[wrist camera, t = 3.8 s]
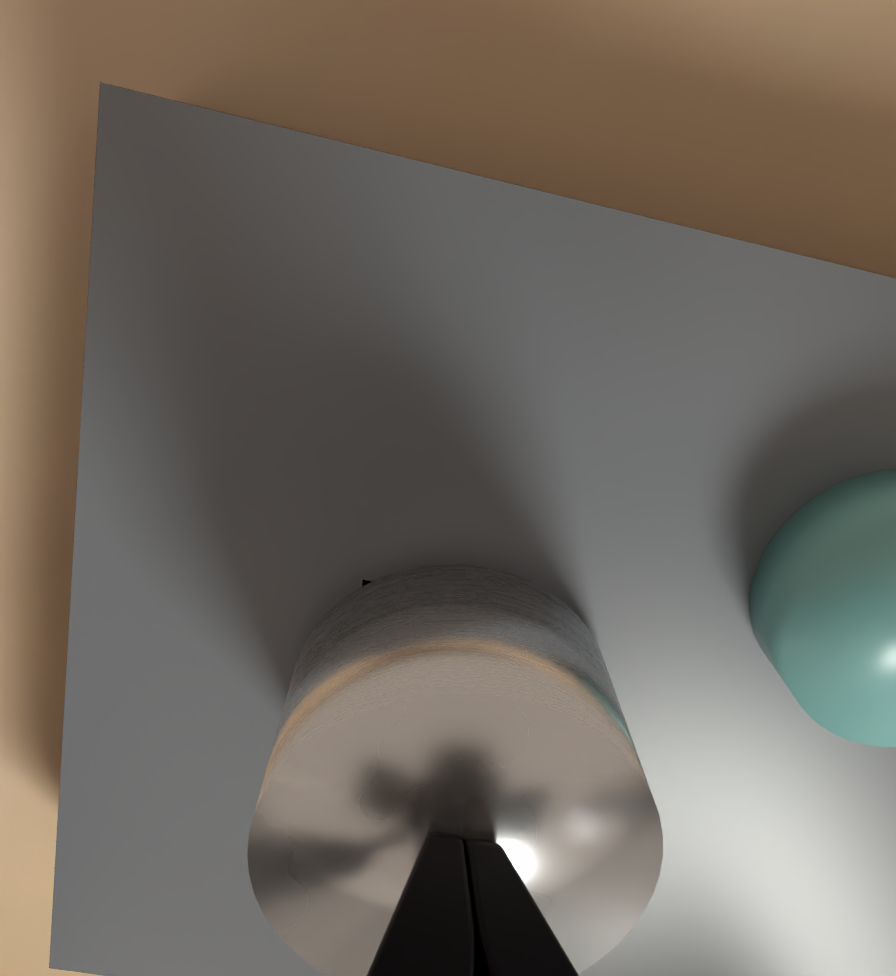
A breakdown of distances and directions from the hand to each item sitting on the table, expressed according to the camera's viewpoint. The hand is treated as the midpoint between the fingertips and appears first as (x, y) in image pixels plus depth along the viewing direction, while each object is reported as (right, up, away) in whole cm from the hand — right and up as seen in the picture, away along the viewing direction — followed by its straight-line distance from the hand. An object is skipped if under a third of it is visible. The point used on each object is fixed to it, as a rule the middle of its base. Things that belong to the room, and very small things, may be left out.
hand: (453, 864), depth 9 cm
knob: (0, +2, +6) cm, 6 cm away
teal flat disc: (+6, +3, +2) cm, 7 cm away
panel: (+5, +1, +6) cm, 8 cm away
